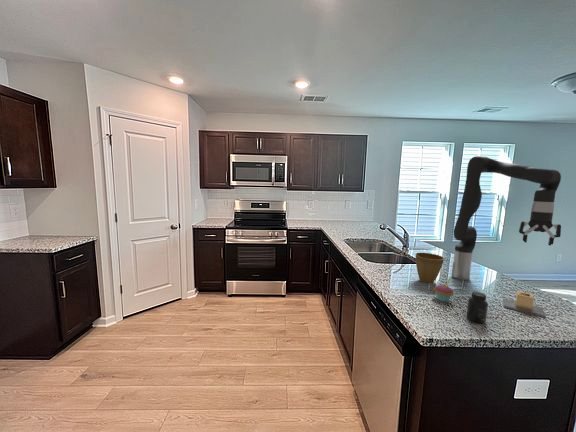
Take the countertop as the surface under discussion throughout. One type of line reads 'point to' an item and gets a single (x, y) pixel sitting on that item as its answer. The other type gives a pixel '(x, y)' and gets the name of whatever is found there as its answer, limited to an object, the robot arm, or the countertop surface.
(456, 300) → the countertop surface
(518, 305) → the tan cube
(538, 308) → the post fixture
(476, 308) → the supplement bottle
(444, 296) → the cupcake
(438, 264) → the plant pot
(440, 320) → the countertop surface
